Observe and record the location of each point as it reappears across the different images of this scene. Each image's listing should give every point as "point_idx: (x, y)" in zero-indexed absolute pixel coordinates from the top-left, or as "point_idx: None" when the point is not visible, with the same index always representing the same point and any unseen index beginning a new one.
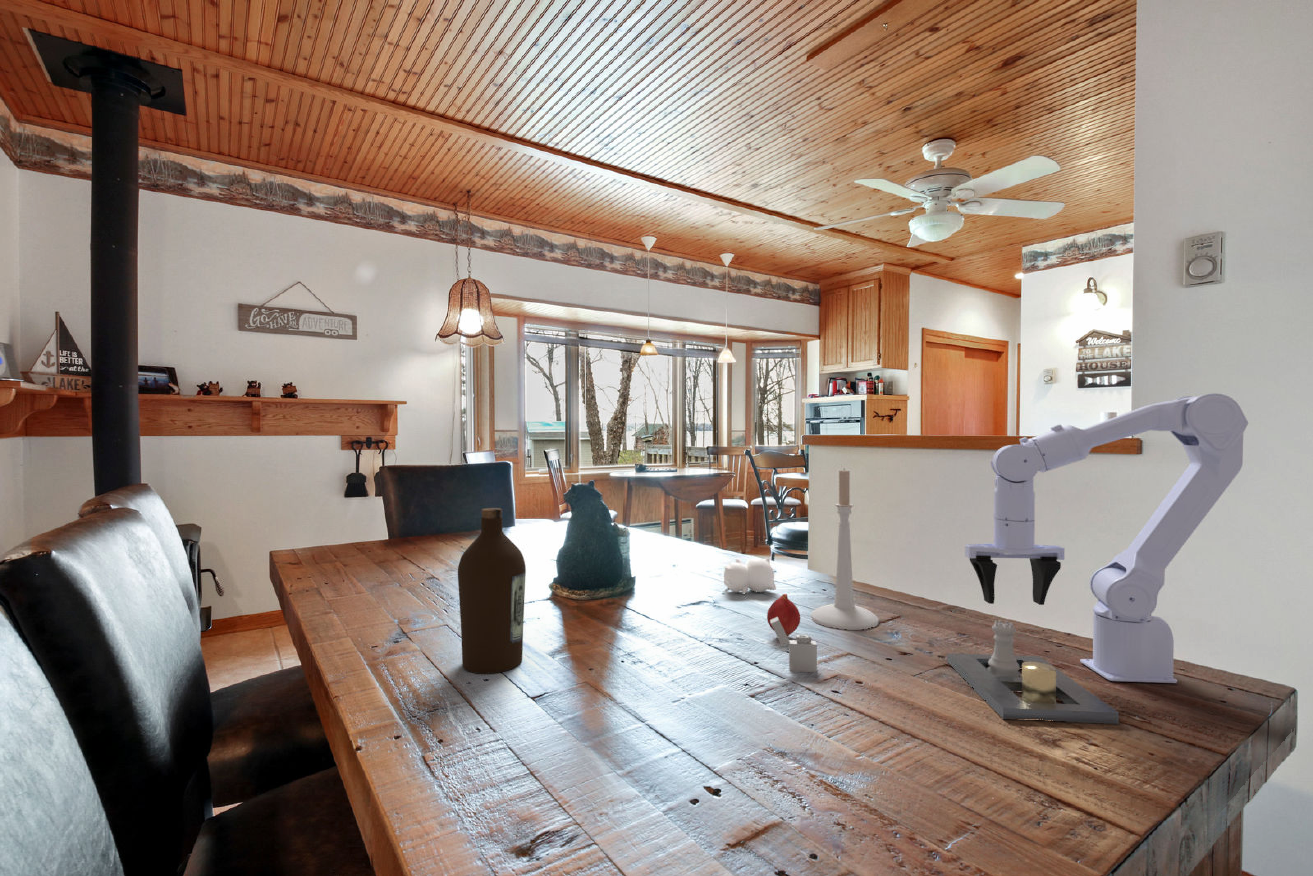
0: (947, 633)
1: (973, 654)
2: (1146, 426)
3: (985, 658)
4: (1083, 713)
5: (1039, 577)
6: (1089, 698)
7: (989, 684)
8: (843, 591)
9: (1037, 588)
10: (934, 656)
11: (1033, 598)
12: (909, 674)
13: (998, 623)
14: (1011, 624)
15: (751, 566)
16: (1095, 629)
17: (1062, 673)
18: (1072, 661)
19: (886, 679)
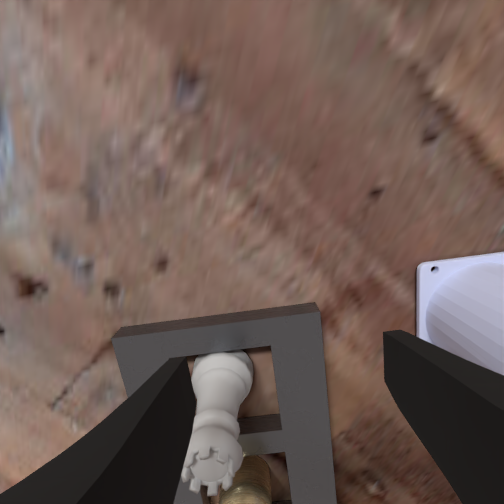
0: (145, 84)
1: (169, 334)
2: None
3: (191, 352)
4: None
5: (490, 497)
6: (320, 498)
7: None
8: None
9: (428, 412)
10: (96, 292)
11: (389, 340)
12: (44, 402)
13: (198, 451)
14: (225, 489)
15: None
16: (500, 370)
17: (325, 403)
18: (403, 256)
19: (4, 433)
